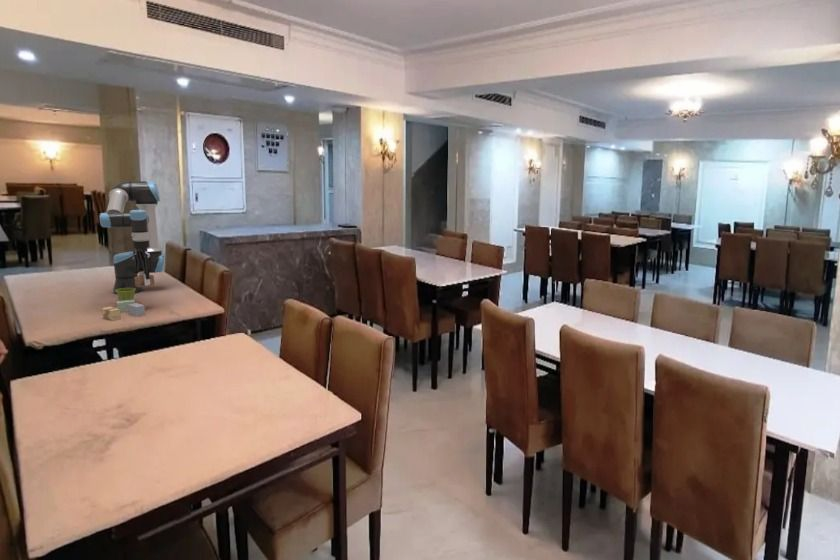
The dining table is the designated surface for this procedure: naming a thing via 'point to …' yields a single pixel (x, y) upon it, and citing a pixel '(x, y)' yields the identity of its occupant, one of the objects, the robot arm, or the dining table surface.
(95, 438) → the dining table surface
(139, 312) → the grey brick
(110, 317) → the oak brick
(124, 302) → the sage brick
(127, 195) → the robot arm
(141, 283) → the walnut brick
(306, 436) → the dining table surface
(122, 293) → the plant pot
